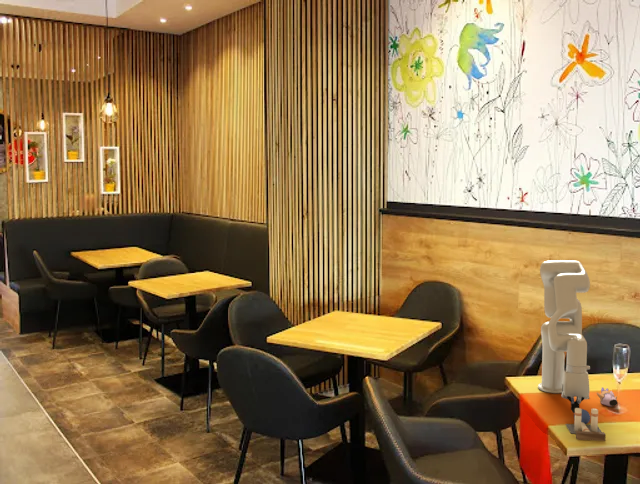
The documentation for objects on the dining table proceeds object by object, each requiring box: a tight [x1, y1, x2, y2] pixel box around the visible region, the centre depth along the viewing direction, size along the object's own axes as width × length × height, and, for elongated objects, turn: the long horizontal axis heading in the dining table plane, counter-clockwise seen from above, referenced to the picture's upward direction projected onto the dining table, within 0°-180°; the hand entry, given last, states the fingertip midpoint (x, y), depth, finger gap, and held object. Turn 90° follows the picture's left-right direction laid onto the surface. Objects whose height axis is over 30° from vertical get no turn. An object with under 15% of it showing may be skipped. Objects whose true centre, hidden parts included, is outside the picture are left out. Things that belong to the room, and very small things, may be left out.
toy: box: [596, 387, 619, 407], centre depth 278 cm, size 9×6×15 cm
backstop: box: [575, 431, 607, 442], centre depth 243 cm, size 2×10×2 cm, turn 82°
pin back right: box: [573, 407, 583, 432], centre depth 249 cm, size 2×2×9 cm
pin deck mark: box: [564, 423, 603, 435], centre depth 252 cm, size 9×12×1 cm
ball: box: [573, 408, 591, 425], centre depth 256 cm, size 6×6×6 cm
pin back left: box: [590, 408, 599, 432], centre depth 248 cm, size 2×2×9 cm
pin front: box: [581, 422, 590, 432], centre depth 249 cm, size 2×2×9 cm
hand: (574, 412), depth 266 cm, fingers closed
